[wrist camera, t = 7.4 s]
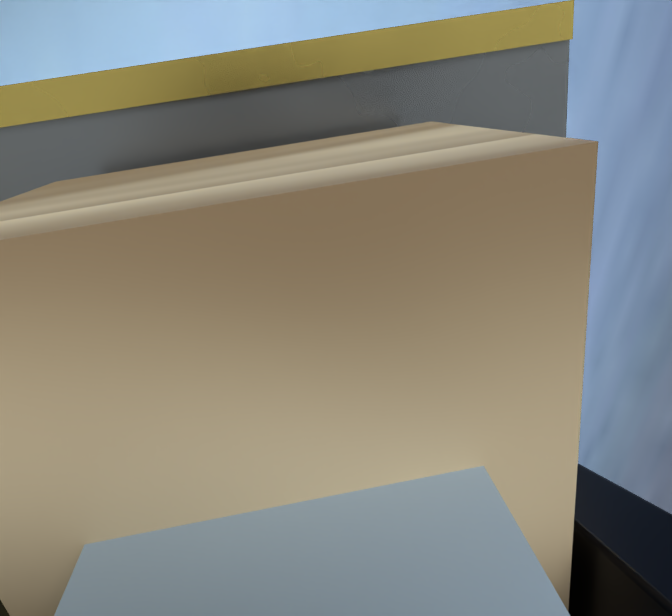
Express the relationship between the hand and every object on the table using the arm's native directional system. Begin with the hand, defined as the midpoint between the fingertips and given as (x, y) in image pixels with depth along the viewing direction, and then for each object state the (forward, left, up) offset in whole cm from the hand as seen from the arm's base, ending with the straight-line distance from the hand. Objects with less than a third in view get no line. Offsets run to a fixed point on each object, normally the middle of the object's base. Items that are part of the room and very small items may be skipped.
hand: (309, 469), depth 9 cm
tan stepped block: (0, 0, -1) cm, 1 cm away
